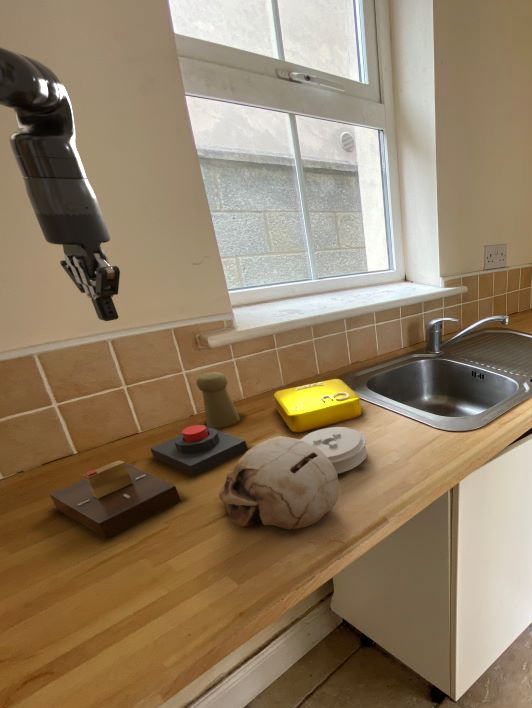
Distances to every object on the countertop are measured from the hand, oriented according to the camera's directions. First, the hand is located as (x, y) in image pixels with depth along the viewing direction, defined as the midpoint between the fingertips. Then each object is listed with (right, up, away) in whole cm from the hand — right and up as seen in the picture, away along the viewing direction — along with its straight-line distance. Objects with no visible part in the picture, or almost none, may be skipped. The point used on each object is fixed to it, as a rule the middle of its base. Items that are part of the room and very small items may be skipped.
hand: (109, 319), depth 77 cm
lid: (+35, -26, +8) cm, 44 cm away
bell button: (+10, -21, +7) cm, 24 cm away
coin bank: (+32, -32, -5) cm, 46 cm away
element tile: (+24, -17, +26) cm, 39 cm away
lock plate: (+7, -31, -5) cm, 32 cm away
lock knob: (+7, -28, -7) cm, 30 cm away
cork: (+6, -19, +20) cm, 28 cm away
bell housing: (+10, -24, +8) cm, 27 cm away
